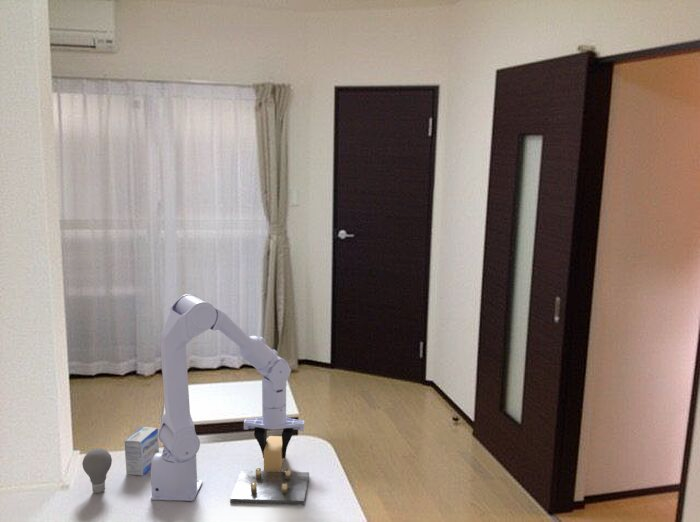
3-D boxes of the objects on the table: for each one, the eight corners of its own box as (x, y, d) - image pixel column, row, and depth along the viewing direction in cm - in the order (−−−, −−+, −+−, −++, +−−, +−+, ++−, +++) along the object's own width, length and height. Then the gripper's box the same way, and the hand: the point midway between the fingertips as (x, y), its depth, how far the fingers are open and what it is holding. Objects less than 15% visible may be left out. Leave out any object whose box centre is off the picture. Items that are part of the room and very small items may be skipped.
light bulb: (106, 481, 142) (104, 440, 140) (117, 491, 138) (115, 450, 136) (79, 491, 138) (77, 449, 136) (90, 502, 134) (88, 459, 132)
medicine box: (143, 477, 145) (141, 442, 143) (125, 474, 145) (123, 440, 144) (159, 460, 152) (158, 427, 151) (143, 458, 153) (141, 425, 152)
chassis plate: (230, 502, 134) (230, 490, 134) (241, 474, 146) (241, 462, 146) (303, 505, 134) (304, 492, 134) (308, 476, 146) (309, 464, 145)
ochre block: (263, 470, 148) (263, 451, 147) (268, 454, 156) (268, 436, 155) (280, 471, 148) (280, 451, 147) (284, 455, 156) (284, 436, 155)
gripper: (305, 398, 153) (305, 449, 156) (247, 396, 153) (248, 447, 156) (303, 410, 146) (302, 463, 149) (241, 408, 147) (242, 461, 149)
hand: (274, 456), depth 152 cm, fingers closed on ochre block, 4 cm apart
